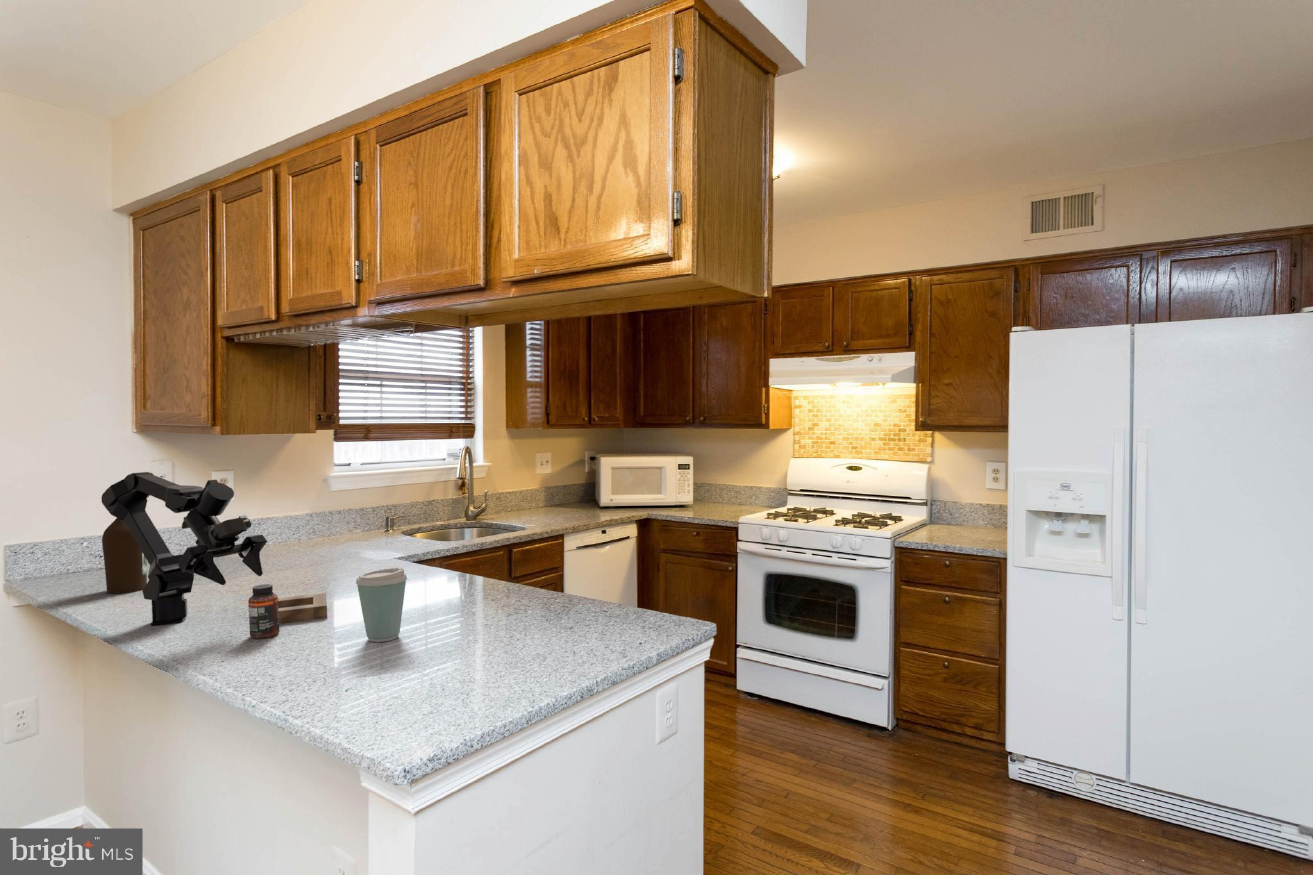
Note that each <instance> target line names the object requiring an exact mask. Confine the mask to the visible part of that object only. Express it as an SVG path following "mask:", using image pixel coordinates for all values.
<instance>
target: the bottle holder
mask: <svg viewBox="0 0 1313 875" xmlns="http://www.w3.org/2000/svg"><path fill="white" fill-rule="evenodd" d="M327 600H328V599H327V592H322V593H315V594H304V595H297V596H296V595H295V596H287V597H278V609H279V625H280V624H287V623H294V622H296V623H297V622H302V621H311V620H320V619H326V618H328V603H327Z"/></svg>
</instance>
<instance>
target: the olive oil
mask: <svg viewBox="0 0 1313 875" xmlns="http://www.w3.org/2000/svg"><path fill="white" fill-rule="evenodd" d="M101 546H102V554H103V562H104V572H105V584H106V593H107V594H111V595H112V594H113V595H117V594H129V593H134V592H139V591H143V589H144V587H145V586H146V584H147V583H148V561H147V559H146V558H145V556H144V554H143V553H142V551H141V549H140V547H139V546H138V544H137V542H136V541H135V539H134V537H133V536H132V534H131V532H130V531H129V529H128V527H127V526H126V524H125V522H124V521H123V520H121V519H119V518H116V517H115V519H114V520H113V521H112V522H111V523H110V524H109V526H107V528H105V530H104V531H103V533H102V537H101Z"/></svg>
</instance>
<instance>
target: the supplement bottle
mask: <svg viewBox="0 0 1313 875" xmlns="http://www.w3.org/2000/svg"><path fill="white" fill-rule="evenodd" d="M251 594H252V596H250V597H249V598H248V602H247V603H248V607H247V608H248V620H249V621H248V625H249V636H250V638H252V639H256V640H257V639H258V640H259V639H260V640H261V639H268V638H271V637H275V636H276V635H278V634H279V633H280V624H279V609H278V598H279V597H278V594H276V593H275V592H273V584H271V583H265V584H257V585H254V586H253V587H252V593H251Z"/></svg>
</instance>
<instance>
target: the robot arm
mask: <svg viewBox="0 0 1313 875" xmlns="http://www.w3.org/2000/svg"><path fill="white" fill-rule="evenodd" d="M150 496H151V497H153V498H156V499H158V500H161V501H163V502H164V507H165V508H167V509H169V511H171V512H173V513H174V514H180V513H186V512H187V514H186V516H183V522H182V524H181V529H182V530H185V529H190V530H191V532H192V534H194V536H195V537H196V540H195V542H194V543H195V544H196V545H192V546H189V547H188V546H187V548H186V549H185V551H184V552H183V553H182V554H181V553H180V554H172V552H171V550H170V549H169V548H168V546H167V544H166V543H165V541H164V539H163V537H162V535H161V534H160V532H159V530H158V529H157V527H156V525H155V524H154V522H153V521H152V519H151V518H150V515H149V514H148V513H147V511H146V509H147V503H148V498H149V497H150ZM233 497H235V492H234V489H233V487H230V486H228V485H227V484H224V483H222V482H219V480H218V479H209V480H207V481H206V483H205V485H204V487H202V486H198V485H186V484H185V485H184V484H183V485H181V484H179V483H178V484H177V483H175V482H172V481H170V480H167V479H164V478H162V477H160V476H157V475H155V474H153V472H150V471H144V472H143V471H142V472H131V473H130V474H129V473H128V474H127V475H126V476H125V477H124V478H123V479H121V480H119V481H117V482H114V483H112V484H111V485H110V486H108V488H107V489H105V491H103V493H102V495H101V498H100V499H101V503H102V505H103V506H104V508H105V509H106V511H107V512H108V513H109V514H110V515H111V516H112V517H114V518H115V519H116V518H119V519H121V520H123V521H124V522H125V524H126V526H127V527H128V529H129V531H130V532H131V534H132V536H133V537H134V539H135V541H136V542H137V544H138V546H139V547H140V549H141V551H142V553H143V554H144V556H145V558H146V559H147V564H148V565H149V570H148V572H147V579H148V580H147V584H146V586H145V587H144V589H143V590H141V591H142V595H143V599H144V600H149V601H151V622H150V626H156V625H164V624H175V623H181V622H184V620H185V619H186V618H187V616H188V614H189V613H188V599H187V598H185V594H188V593H192V588H193V584H194V579H195V575H197V576H200V577H203V578H206V579H208V580H210V581H212V582H214V583H216V584H218V585H221V586H225V585H226V583H227V581H226V579H225V577H224V575H223V573H222V572H221V571H220V569H219V567H218V566H217V564H216V562H215V560H214V558H222V557H227V556H231V555H236V554H237V555H238V556H239V557H240V558H241V559H242V560H241V562H242V563H243V564H244V565H246V567H247V568H249V569H250V570H251V571H252V572H253V573H254V574H255V575H257V576H258V577H262V576H263V574H264V572H263V568H262V563H261V557H260V556H261V555H260V554H261V551H262V550H263V548H264V547H265V545H266V544H267V543H268V541H267V539H266V537H265V536H264V535H263V534H253V535H249V536H245V538H244V539H243V541H242V542H241V543H238V544H237V543H236V542H238V540H240V536H239V535H240V534H242V533H244V532H247V531H248V529H249V528H251V527H252V522H251V519H250V518H249V517H248V515H245V514H244V515H239V516H238V517H236V518H231V519H226V520H223V521H220V520H219V518H218V516H221V515H222V514H223V513H224V511H225V510H226V509H227V507H228V506H229V504H230V502H231V501H232V499H233Z"/></svg>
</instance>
